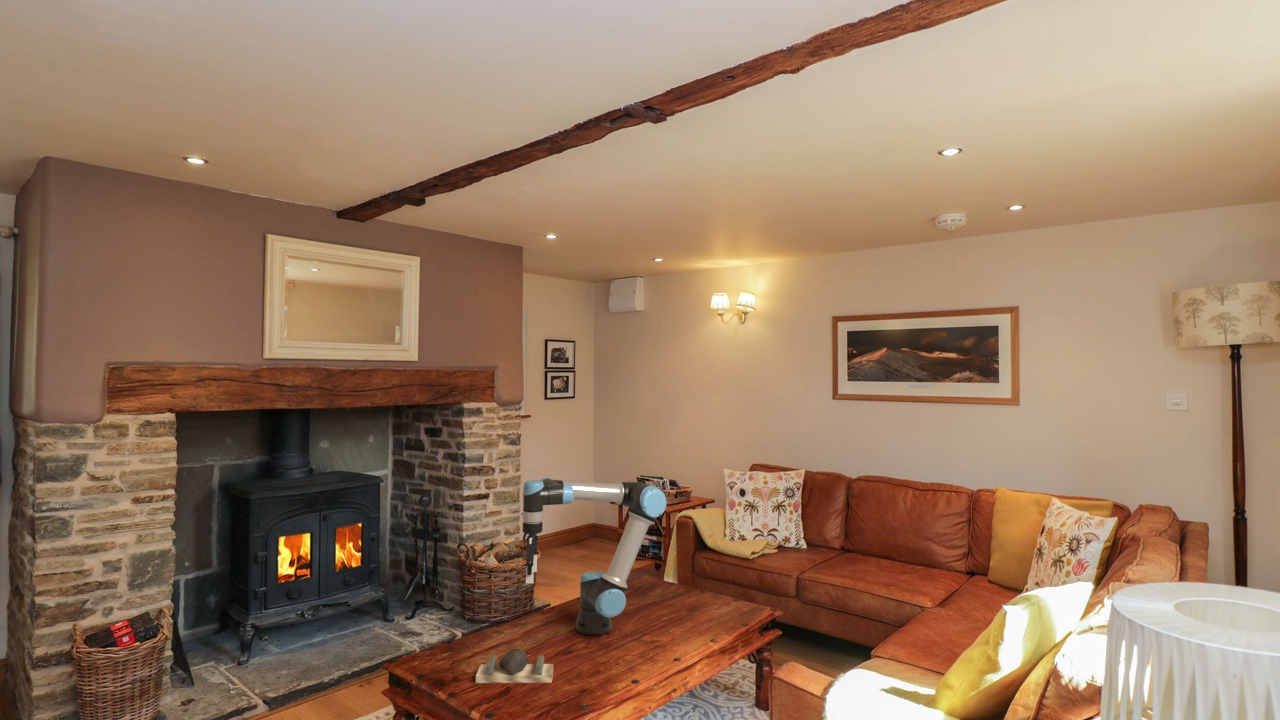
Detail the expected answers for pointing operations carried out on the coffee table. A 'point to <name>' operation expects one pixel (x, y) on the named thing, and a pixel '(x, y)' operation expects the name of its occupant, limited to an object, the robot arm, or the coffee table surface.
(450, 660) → the coffee table surface
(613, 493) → the robot arm
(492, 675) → the cream and green rack
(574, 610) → the coffee table surface
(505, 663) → the stone
